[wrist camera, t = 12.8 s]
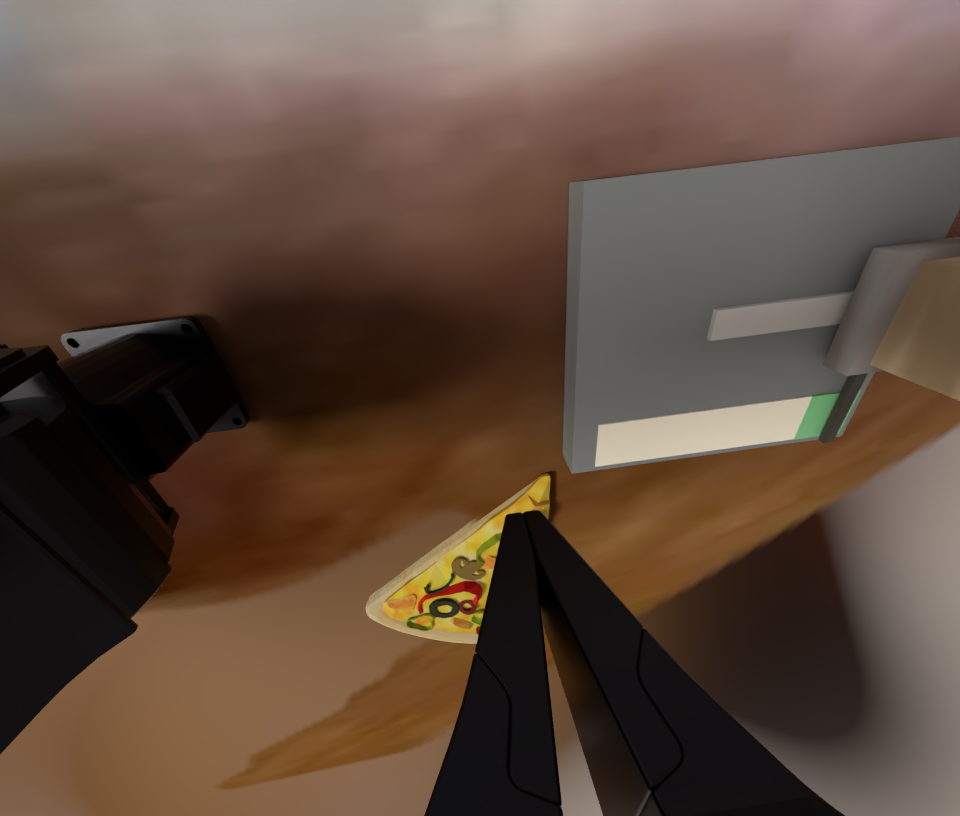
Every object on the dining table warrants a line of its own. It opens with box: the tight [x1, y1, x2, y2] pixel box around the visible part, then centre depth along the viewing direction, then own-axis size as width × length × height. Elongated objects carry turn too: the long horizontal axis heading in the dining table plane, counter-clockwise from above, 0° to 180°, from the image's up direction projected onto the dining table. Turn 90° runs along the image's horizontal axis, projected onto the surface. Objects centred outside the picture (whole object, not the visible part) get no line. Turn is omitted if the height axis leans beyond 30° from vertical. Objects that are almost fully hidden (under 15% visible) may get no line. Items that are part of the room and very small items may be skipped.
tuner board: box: [563, 136, 960, 474], centre depth 20 cm, size 18×16×2 cm
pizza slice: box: [366, 473, 550, 644], centre depth 29 cm, size 16×21×3 cm
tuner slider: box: [819, 237, 960, 443], centre depth 17 cm, size 5×12×8 cm, turn 6°
